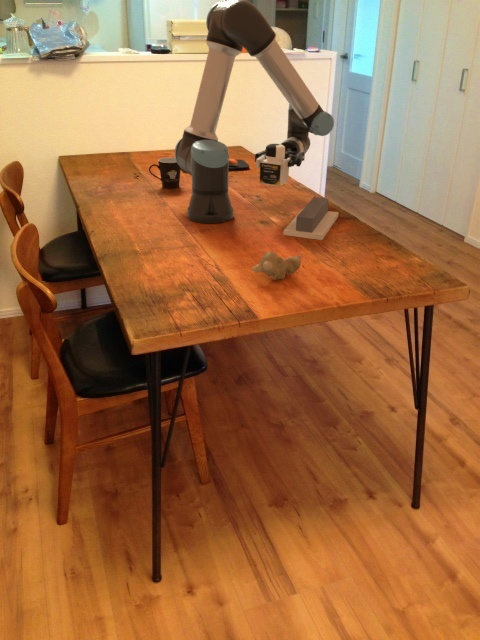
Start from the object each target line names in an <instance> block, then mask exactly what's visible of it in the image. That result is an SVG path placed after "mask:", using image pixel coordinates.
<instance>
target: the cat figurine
mask: <svg viewBox="0 0 480 640" xmlns="http://www.w3.org/2000/svg"><path fill="white" fill-rule="evenodd" d="M301 264H302V255H301V254H297V255H295V256H294V255H293V256H290V257H286V258H282V257H281V256H279V255H278V254H277V253H276V252H274V251H267V252H266V253H264V254H263V255H262V256H261V258H260V260H259V263H257V264H255V265H254V266H252V267H251V269H252V270H253V272H255V273H258V274H259V273H260V274H261V273H264V275H266V276H268V277H271V278H272V279H273V280H274V281H276V280H284V279H285V277H286V274H287V275H292V274H295V273H297V271H298V270H299V269H300V268H301V266H302V265H301Z"/></svg>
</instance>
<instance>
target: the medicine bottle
mask: <svg viewBox="0 0 480 640" xmlns="http://www.w3.org/2000/svg"><path fill="white" fill-rule="evenodd" d="M265 149H266V158H267V159H265V160H263V161H261V162H260V168H259V184H262V185H268V186H273V187H274V186H275V187H281V186H282V185H285V184H286V183H288V182H289V175H290V174H289V173H290V172H289V171H290V167H289V168H288V169H286V170H285V171H282V164H283V161H285V160H286V159H284V158H285V146H283V145H281V143H269V144H267V145H266V147H265Z"/></svg>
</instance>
